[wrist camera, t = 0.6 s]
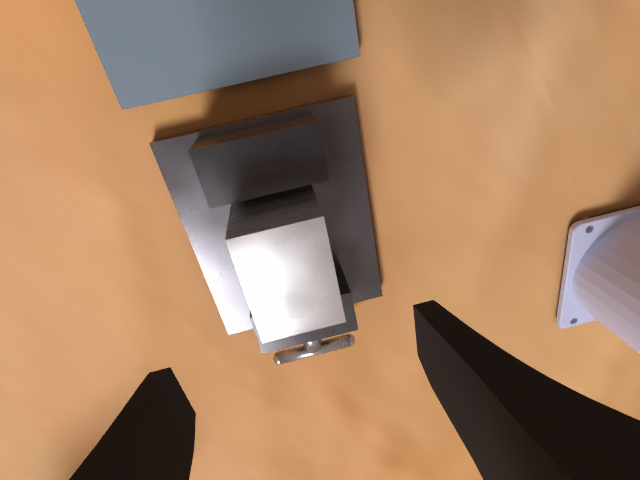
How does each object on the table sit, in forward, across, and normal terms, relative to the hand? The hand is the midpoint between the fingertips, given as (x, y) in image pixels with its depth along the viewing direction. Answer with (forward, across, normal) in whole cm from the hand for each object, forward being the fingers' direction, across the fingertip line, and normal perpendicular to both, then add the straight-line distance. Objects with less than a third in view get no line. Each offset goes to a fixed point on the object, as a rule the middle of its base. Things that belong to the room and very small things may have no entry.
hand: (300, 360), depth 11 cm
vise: (+9, 0, 0) cm, 9 cm away
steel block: (+9, 0, 0) cm, 9 cm away
